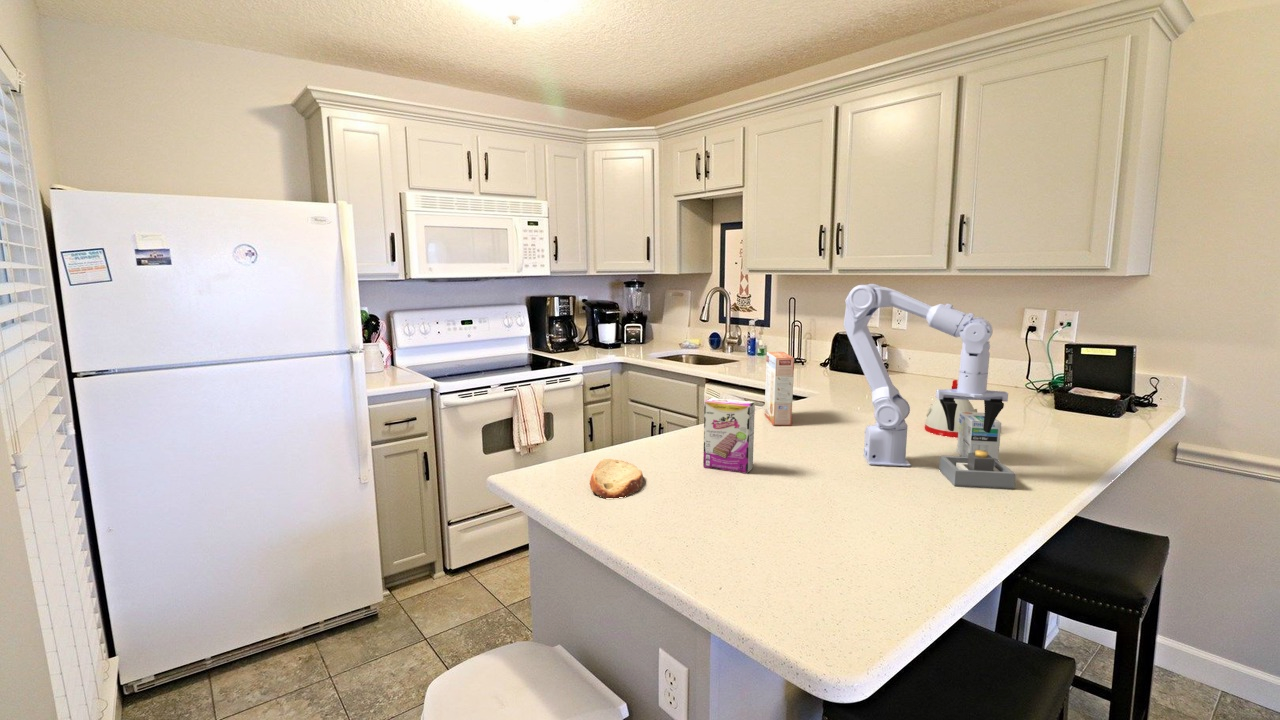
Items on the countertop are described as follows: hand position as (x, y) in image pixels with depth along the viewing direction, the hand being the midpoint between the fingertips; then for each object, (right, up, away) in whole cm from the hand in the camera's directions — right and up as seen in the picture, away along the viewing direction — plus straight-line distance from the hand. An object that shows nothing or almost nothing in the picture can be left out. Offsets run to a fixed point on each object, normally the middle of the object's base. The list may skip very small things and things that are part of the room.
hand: (968, 430), depth 141 cm
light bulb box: (+9, -9, +13) cm, 18 cm away
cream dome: (+15, -5, +38) cm, 42 cm away
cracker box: (-32, -3, +52) cm, 61 cm away
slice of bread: (-81, -12, -2) cm, 82 cm away
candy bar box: (-54, -10, +7) cm, 55 cm away
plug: (+1, -10, -2) cm, 11 cm away
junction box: (0, -11, -2) cm, 11 cm away
